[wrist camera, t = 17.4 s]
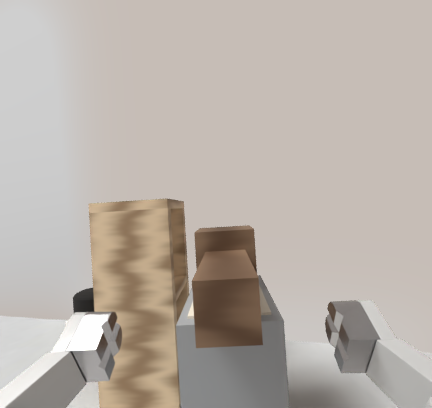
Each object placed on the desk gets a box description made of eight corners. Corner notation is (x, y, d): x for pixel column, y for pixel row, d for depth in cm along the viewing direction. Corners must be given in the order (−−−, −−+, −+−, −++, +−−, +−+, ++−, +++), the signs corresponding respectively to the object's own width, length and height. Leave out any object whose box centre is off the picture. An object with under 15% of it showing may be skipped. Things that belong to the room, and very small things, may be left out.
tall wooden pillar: (192, 351, 49) (183, 201, 49) (179, 408, 35) (167, 198, 35) (135, 353, 49) (127, 205, 50) (99, 411, 35) (88, 203, 36)
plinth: (268, 404, 34) (260, 273, 35) (297, 538, 21) (283, 316, 21) (203, 407, 35) (195, 276, 35) (188, 541, 21) (175, 322, 21)
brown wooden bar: (252, 274, 34) (248, 225, 34) (279, 344, 17) (273, 243, 17) (202, 277, 34) (199, 228, 34) (179, 348, 17) (173, 249, 17)
